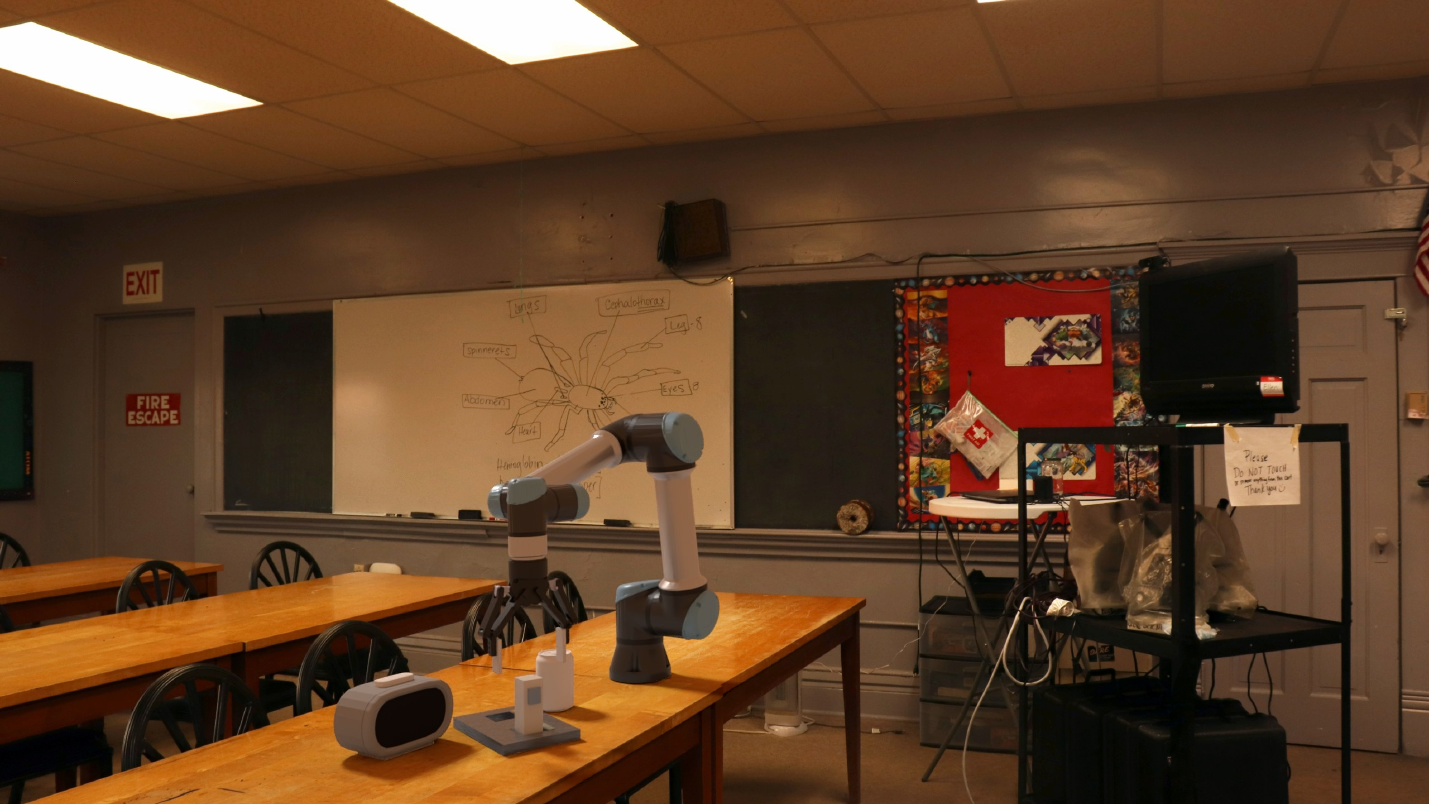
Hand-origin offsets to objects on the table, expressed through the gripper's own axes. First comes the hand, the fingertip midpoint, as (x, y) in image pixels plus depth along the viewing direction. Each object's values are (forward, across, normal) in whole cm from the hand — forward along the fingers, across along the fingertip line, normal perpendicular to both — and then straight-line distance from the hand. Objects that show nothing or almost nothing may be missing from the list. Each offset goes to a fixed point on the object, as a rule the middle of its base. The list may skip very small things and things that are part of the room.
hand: (530, 667), depth 192 cm
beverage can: (+14, -14, -18) cm, 27 cm away
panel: (+14, +1, -6) cm, 15 cm away
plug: (+14, +1, 0) cm, 14 cm away
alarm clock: (+14, +23, -11) cm, 29 cm away
